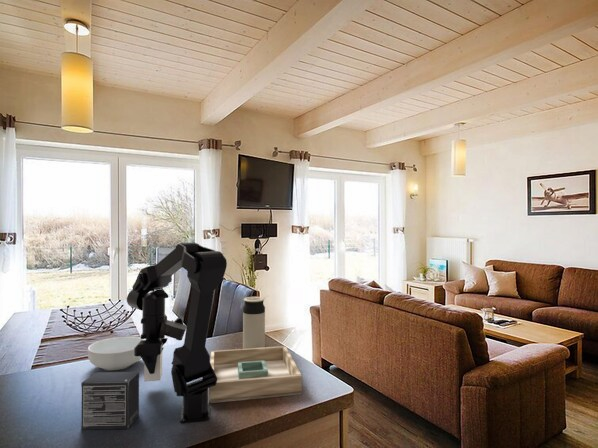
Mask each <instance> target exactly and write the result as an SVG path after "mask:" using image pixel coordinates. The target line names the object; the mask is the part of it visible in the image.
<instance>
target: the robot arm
mask: <svg viewBox="0 0 598 448" xmlns="http://www.w3.org/2000/svg"><path fill="white" fill-rule="evenodd" d="M227 264H228V263H227V258H226V256H224V253H222V252H221V251H218V250H215V249H212V248H209V247H205V246H202V245H200V244H199V243H197V242H193V241H192V242H179V243H178V244H177V245H175V248H174V249H173V250H172V251H170V252H169V253H168V254H166V255H165V256H164V257H163V258H162V259H160V261H159V262H157V263H155V264H152V265H148V266H146V267H143V268H141V269H140V270H139V273H138V274H137V277H136V280H135V281H134V283H133V285H132V289H131V290H130V291H129V292H128V294H127V296H126V303H127V305H128V306H129V307H131V308H133V309H135V310H140V311H141V313H142V318H140V325H141V324H142V328H141V329H142V332H141V335H140V338H141V339H145V340H141V341H140V342H139V343H138V344H137V345H136V347H135V348H134V356H141V359H142V362H143V364H144V363H145V365H146V367H147V369H148V371H149V373H150V374H154V372H155V367H156V362H157V357H158V355H159V354H161V352H162V353H163V351H164V345H165V344H166V343H167V342H168V338H172V339H175V340H176V341H182V340H183V337H184V341H183V345H182V346H180V347H175V348H174V350H173V356H172V362H171V365H172V367H171V370H170V371H171V372H170V374H171V378H172V386H173V390H174V393H176V396H177V397H182V408H181V413H180V418H179V423H191V422H200V421H201V422H202V421H208V420H210V414H211V413H210V412H211V411H210V410H211V405H210V403H209V388H210V387H212V386H215V385H216V383H217V376H216V374H215V372H214V370H213V368H212V366H211V364H210V361H211V354H210V353H209V351H208V349H207V347H206V344H207V343H206V342H207V338H208V332H209V325H210V320H211V319H210V318H211V313H212V309H213V308H212V307H213V302H214V296H215V295H214V294H215V291H216V289H217V287H219V285H220V284H221V282H223V280H224V277H225V273H226V270H227V266H228V265H227ZM181 269H184V270H186V271H187V275H186V276H187V279H188V281H189V283H190V285H191V287H192V291H191V296H190V301H189V302H190V303H189V309H188V316H187V323H186V324H185V323H184V319H183V318H181V317H177V318H175V320H168V316H167V314H166V312H165V311H166V299H168V298H169V295H168V293H167V292H166V291H165V290H164V288H166V287H167V286H168V285H169V284H170V283H171V281H173V279H172V276H173V275H174V274H176V273H178V271H180V270H181ZM184 335H185V336H184ZM167 337H168V338H167Z"/></svg>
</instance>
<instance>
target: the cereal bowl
mask: <svg viewBox="0 0 598 448" xmlns="http://www.w3.org/2000/svg"><path fill="white" fill-rule="evenodd" d="M141 340H146V339H141V336H140V337H139V336H115V337H109V338H104V339H101V340H98V341H95V342H93V343H91V344H90V345H89V346H88V347H87V357H88V361H89V362H90V363H91V364H92V366H94V367H97V368H100V369H103V370H105V371H109V372H114V371H119V370H124V369H127V368H129V367H130V366H131V365H134V364H135V363H137V362H138V361H140V360H141V359H142V358H141V356H134V348H135V347H136V345H137V344H138V343H139V342H140V341H141Z"/></svg>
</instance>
